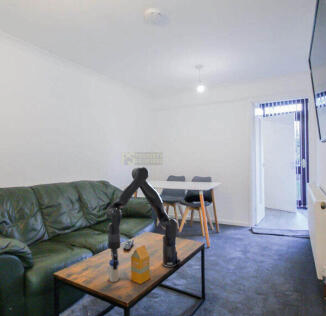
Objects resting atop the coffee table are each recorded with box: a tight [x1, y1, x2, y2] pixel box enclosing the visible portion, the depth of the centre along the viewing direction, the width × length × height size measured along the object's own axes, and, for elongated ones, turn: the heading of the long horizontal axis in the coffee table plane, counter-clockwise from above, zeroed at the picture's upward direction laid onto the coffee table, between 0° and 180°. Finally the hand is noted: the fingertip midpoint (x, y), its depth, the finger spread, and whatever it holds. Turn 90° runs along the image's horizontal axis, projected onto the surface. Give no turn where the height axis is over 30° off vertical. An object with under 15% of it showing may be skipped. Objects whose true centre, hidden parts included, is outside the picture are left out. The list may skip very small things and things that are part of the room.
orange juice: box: [130, 244, 150, 285], centre depth 152 cm, size 8×9×20 cm
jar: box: [108, 265, 119, 283], centre depth 151 cm, size 5×5×11 cm
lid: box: [108, 259, 120, 267], centre depth 151 cm, size 6×6×2 cm
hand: (114, 267), depth 151 cm, fingers closed on lid, 5 cm apart
